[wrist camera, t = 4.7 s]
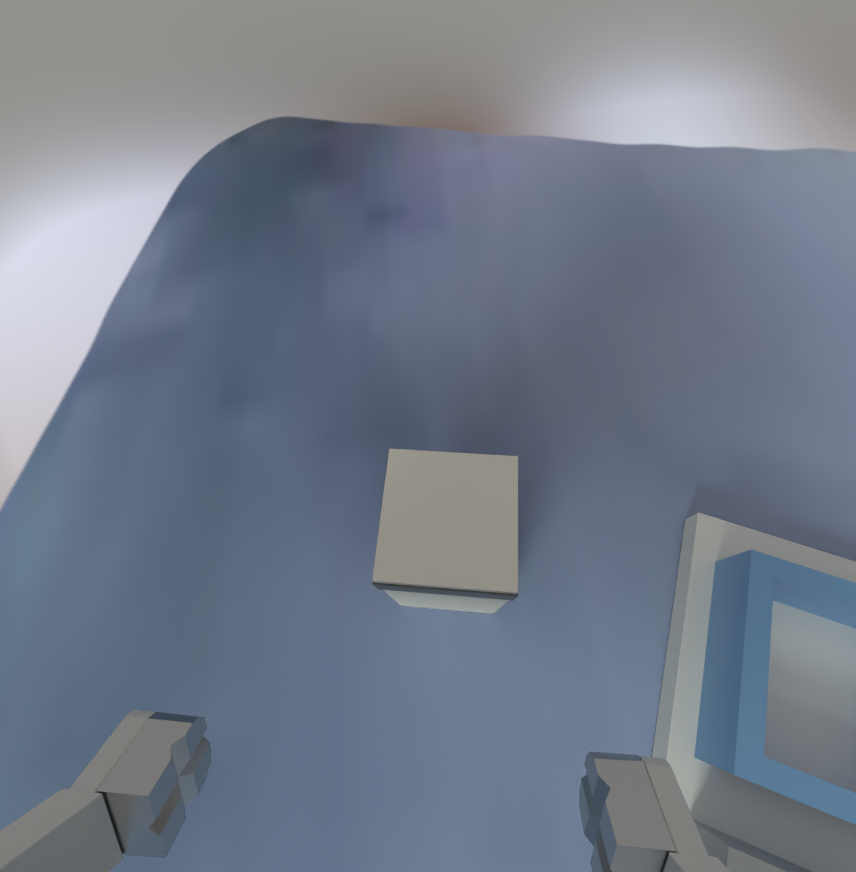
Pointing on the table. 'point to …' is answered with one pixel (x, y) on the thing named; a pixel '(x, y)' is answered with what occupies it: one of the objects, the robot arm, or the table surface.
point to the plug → (449, 530)
